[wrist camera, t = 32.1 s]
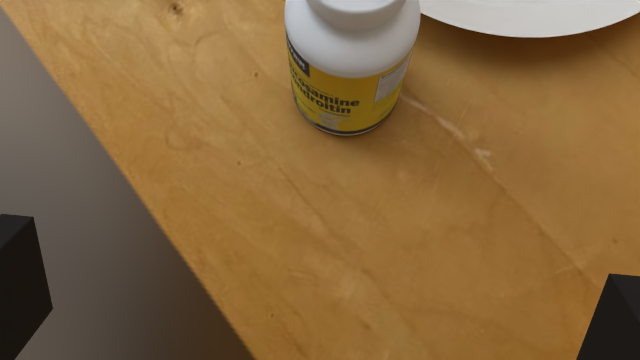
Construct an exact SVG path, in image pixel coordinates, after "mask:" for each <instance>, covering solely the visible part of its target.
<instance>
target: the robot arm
mask: <svg viewBox="0 0 640 360" xmlns="http://www.w3.org/2000/svg"><path fill="white" fill-rule="evenodd" d="M52 309H53V307H52V303H51V297H50V293H49V288H48V283H47V279H46V274H45V269H44V264H43V260H42V255H41V250H40V246H39V241H38V237H37V232H36V227H35V223H34V218H33V217H28V216H18V215H7V214H1V215H0V360H15V358H16V357H17V356H18V354H19V353H20V352H21V350H22V349H23V348H24V346H25V345H26V344H27V342H28V341H29V340H30V338H31V337H32V336H33V334H34V333H35V332H36V331H37V329H38V328H39V327H40V325H41V324H42V323H43V321H44V320H45V319H46V317H47V316H48V315H49V313H50V312H51V311H52ZM576 360H640V276H630V275H620V274H610V273H609V275H608V278H607V281H606V283H605V286H604V288H603V291H602V294H601V296H600V299H599V301H598V304H597V307H596V309H595V312H594V315H593V317H592V320H591V322H590V325H589V328H588V330H587V333H586V336H585V338H584V341H583V343H582V346H581V349H580V351H579V354H578V357H577V359H576Z"/></svg>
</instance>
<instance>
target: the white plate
mask: <svg viewBox="0 0 640 360" xmlns="http://www.w3.org/2000/svg"><path fill="white" fill-rule="evenodd" d="M419 5H420V13H422V14H425V15H427V16H429V17H432V18H434V19H436V20H439V21H442V22H445V23H447V24H450V25H454V26H457V27H460V28H464V29H468V30H472V31H477V32H481V33H487V34H493V35H500V36H510V37H554V36H564V35H571V34H577V33H582V32H587V31H591V30H595V29H598V28H602V27H605V26H608V25H611V24H614V23H616V22H619V21H622V20H624V19H626V18H629V17H631V16H633V15H635V14H637V13H639V12H640V0H419Z"/></svg>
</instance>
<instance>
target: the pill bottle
mask: <svg viewBox="0 0 640 360" xmlns="http://www.w3.org/2000/svg"><path fill="white" fill-rule="evenodd" d="M419 26H420V5H419V0H286V3H285V29H286V39H287V47H288V57H289V65H290V73H291V84H292V90H293V95H294V99H295V102H296V104H297V106H298V108H299V110H300V112H301V113H302V114H303V116H304V117H305V118H306V119H307V120H308V121H309V122H310V123H312V124H313V125H314V126H316V127H317V128H319V129H321V130H323V131H326V132H328V133H332V134H336V135H356V134H361V133H364V132H367V131H369V130H371V129H373V128H375V127H377V126H378V125H379V124H381V123H382V122H383V121H384V120H385V119H386V118H387V117H388V116H389V115H390V113H391V112H392V110H393V108H394V106H395V104H396V102H397V99H398V96H399V93H400V90H401V86H402V83H403V80H404V77H405V74H406V70H407V67H408V64H409V61H410V57H411V54H412V51H413V48H414V45H415V42H416V38H417V34H418V30H419Z"/></svg>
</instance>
